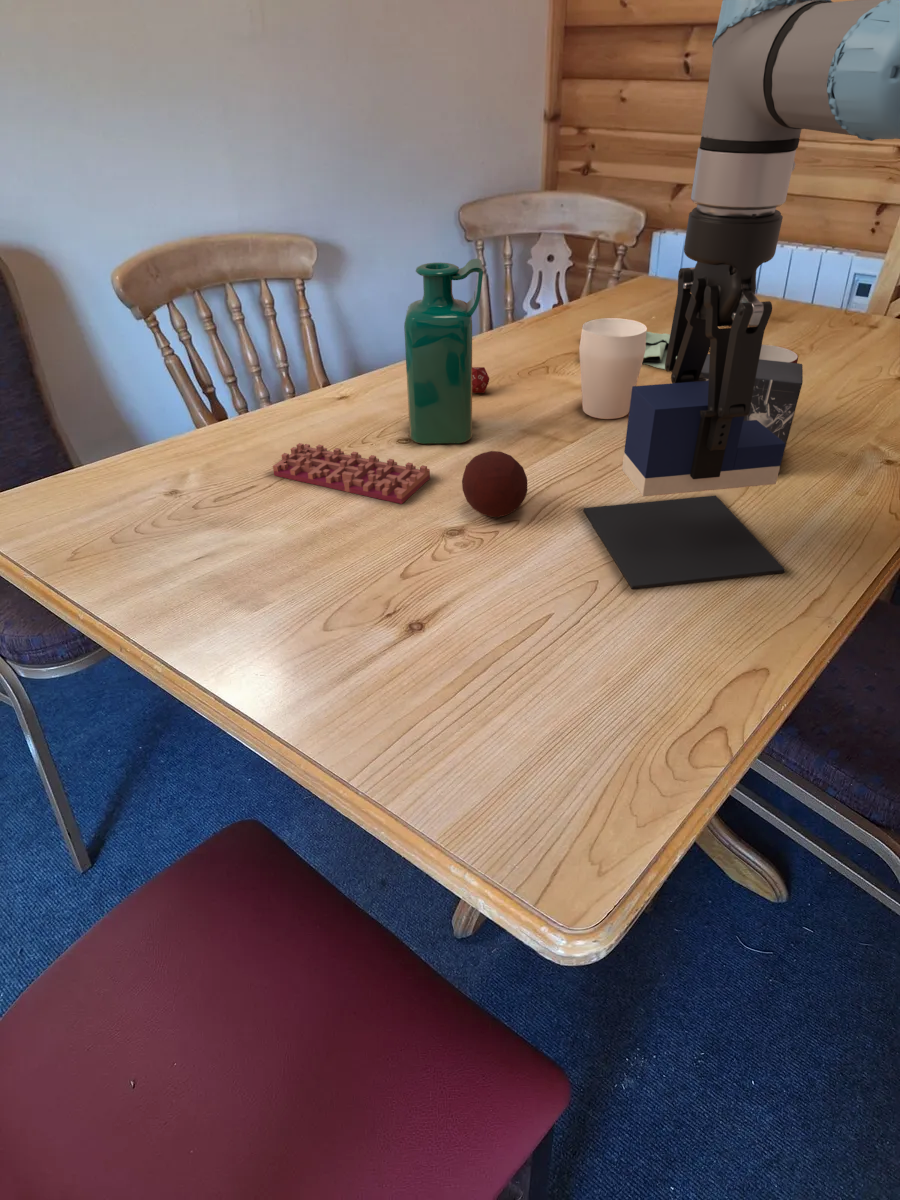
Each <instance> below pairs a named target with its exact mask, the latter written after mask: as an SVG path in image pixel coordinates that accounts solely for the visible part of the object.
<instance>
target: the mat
mask: <svg viewBox="0 0 900 1200" xmlns="http://www.w3.org/2000/svg"><path fill="white" fill-rule="evenodd" d="M582 510H583V513H584V514H585V516H586V517H587V519H588V521H589V522H590V524H591V525H592V528H593V529H594V530H595V532H596V533H597V536H598V537H599V539H600V541H601V542H602V543H603V546H604V547H605V548H606V550H607V552H608V553H609V556H611V558H612V560H613V561H614V563H615V564H616V567H618V569H619V571H620V572H621V574H622V575H623V578H624V579H625V581H626V582H627V584H628V585H629V587H630V588H631V590H639V589H647V588H655V587H665V586H673V585H674V586H675V585H683V584H692V583H700V582H701V583H702V582H709V581H710V582H711V581H718V580H728V579H737V578H738V579H739V578H748V577H756V576H766V575H774V574H783V573H784V574H785V571H786V569H785V567H784V566H783V565H781V563H780V562H779V561H778V560H777V559H776V558H775V557H774V556H773V555H772V554H771V552H769V550H768V549H767V548H766V547H765V546H764V545H763V544H762V543H761V542H760V541H759V539H757V537H756V536H754V534H753V533H751V531H750V530H749V529H748V528H747V527H746V526H745V525H744V524H743V523H742V522H741V521H740V519H739V518H738V517H737V516H736V515H735V514H734V513H733V512H732V511H731V510H730V509H729V508H728V507H727V505H726V504H725V503H724V502H723V501H722V500H721V499H720V498H719V497H718V496H717V495H706V496H695V497H688V498H687V497H686V498H676V499H666V500H655V501H653V500H652V501H645V502H644V501H643V502H634V503H624V504H612V505H601V506H593V507H592V506H590V507H583V509H582Z"/></svg>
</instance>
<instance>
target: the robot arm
mask: <svg viewBox="0 0 900 1200" xmlns="http://www.w3.org/2000/svg"><path fill="white" fill-rule="evenodd" d="M719 11H720V12H719V16H718V20H717V21H718V22H717V27H716V31H715V34H714V38H713V39H712V45H711V46H712V52H711V53H712V54H711V62H710V69H709V76H708V84H707V91H706V92H707V93H706V96H705V97H706V99H705V103H704V104H705V106H704V112H703V119H702V125H701V133H700V142H699V146H698V148H697V154H696V161H695V168H694V175H693V181H692V186H691V187H692V188H691V194H690V200H691V201H692V203H693V204H695V205H696V207H694V208H692V210H691V211H690V212H689V213H688V219H687V226H686V232H685V237H684V245H683V253H684V255H685V256H686V257H687V258H688V259H689V260H692V261H694V262H696V264H695V266H694V267H681V268H679V270H678V275H677V293H676V294H677V295H676V301H675V305H674V312H673V316H672V317H673V318H672V323H671V329H670V333H669V334H670V339H669V345H668V351H667V356H666V362H665V369H666V370H665V371H666V372H667V373H668V372H669V373H671V375H670V381H671V383H683V382H696V381H705V380H706V379H704V378H705V377H704V376H703V374H702V372H701V371H702V369H703V366H704V363H705V360H706V357H707V354H710V362H709V387H708V410H703V411H700V416H701V419H700V424H699V430H698V435H697V441H696V446H695V452H694V457H693V463H692V468H691V474H690V476H691V477H692V479H702V478H713V477H720V473H721V468H722V463H723V458H724V453H725V448H726V445H727V439H728V435H729V431H730V426H731V421H732V419H733V417H742V416H748V414H749V412H750V406H751V401H752V395H753V390H754V384H755V379H756V374H757V368H758V363H759V357H760V352H761V346H762V345H763V340H764V334H765V330H766V328H767V325H768V323H769V320H770V317H771V315H772V313H773V303H772V302H771V301H770V300H768V301H766V300H765V301H760V300H759V299H758V297H757V296H756V292H757V270H758V268H759V267H760V266H761V265H763V264H765V263H768V262H770V261H772V259H773V258H774V257H775V255H776V251H777V247H778V241H779V237H780V234H781V233H780V232H781V227H782V222H783V220H784V219H783V218H784V216H783V215H782V213H781V211H780V210H778V209H777V208H780V207H782V205H784V204H785V203H786V202H787V197H788V192H789V187H790V182H791V178H792V177H791V176H792V173H793V171H794V170H795V167H796V165H797V164H796V162H795V159H796V152H797V149H798V148H799V145H800V141H801V140H800V139H801V132H802V130H807V131H809V130H810V131H817V132H824V133H832V134H839V135H846V136H847V135H848V136H854V137H857V138H858V139H860V140H864V141H870V142H873V141H875V140H895V139H896V140H900V0H842V1H832V0H722V1H721V7H720V10H719ZM719 327H723V328H719ZM676 356H677V359H676Z"/></svg>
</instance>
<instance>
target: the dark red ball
mask: <svg viewBox="0 0 900 1200" xmlns="http://www.w3.org/2000/svg"><path fill="white" fill-rule="evenodd" d="M461 487H462V492H463V495H464V497H465V500H466V502H467V503H468V504H469V505H470V507H471V508H472V509H473V510H474V511H476V512H477V513H479V514H481V515H484V516H487V517H491V518H499V517H505V516H508V515H509V514H511V513H514V512H515V511H517V510H518V509H519V508H520V507H521V505H522V504H523V503H524V501H525V499H526V496H527V493H528V476H527V474H526V471H525V469H524V467H523V466H522V464H520V463H519V462H518V460H516V459H515V458H514V456H512V455H511V454H508V453H506V452H503V451H497V450H491V451H490V450H489V451H485V452H482V453H479V454H478V455H475V456H474V457H473V458H472V459H470V461H469V462H468V463H467V464H466V465H465V468H464V471H463V475H462V480H461Z"/></svg>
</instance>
